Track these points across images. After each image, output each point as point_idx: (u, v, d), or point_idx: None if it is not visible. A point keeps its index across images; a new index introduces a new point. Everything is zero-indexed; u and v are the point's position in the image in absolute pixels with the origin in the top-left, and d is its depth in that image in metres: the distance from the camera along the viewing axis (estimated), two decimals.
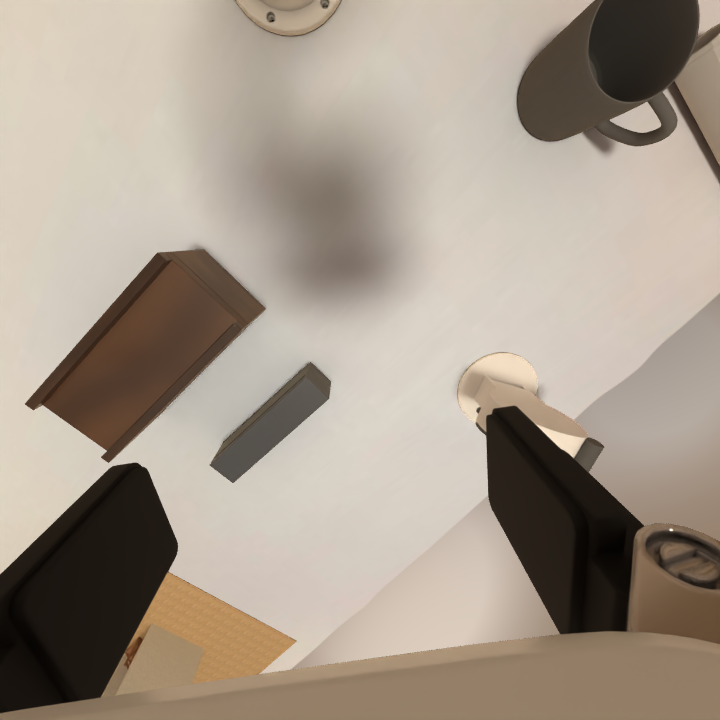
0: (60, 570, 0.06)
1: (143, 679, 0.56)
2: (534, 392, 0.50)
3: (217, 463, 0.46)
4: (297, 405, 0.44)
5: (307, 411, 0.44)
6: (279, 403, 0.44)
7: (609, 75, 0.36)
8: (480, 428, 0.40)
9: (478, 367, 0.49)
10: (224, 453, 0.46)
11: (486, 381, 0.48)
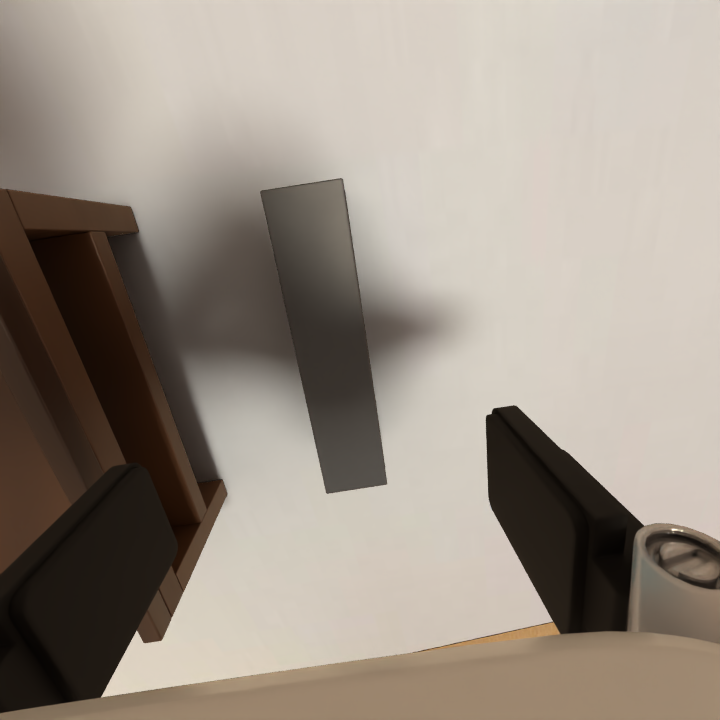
0: (59, 571, 0.06)
1: None
2: None
3: (332, 480, 0.22)
4: (313, 260, 0.18)
5: (340, 249, 0.18)
6: (285, 292, 0.18)
7: None
8: None
9: None
10: (321, 457, 0.22)
11: None
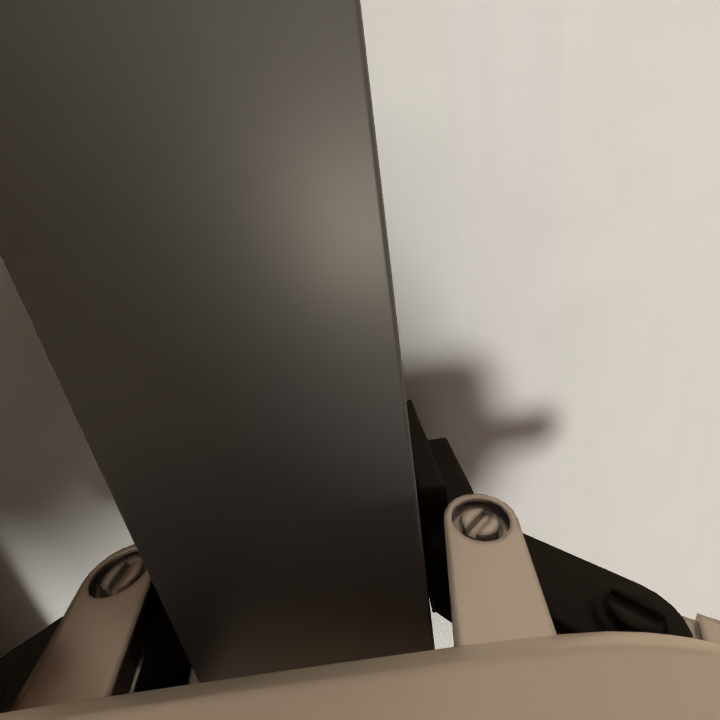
0: None
1: None
2: None
3: None
4: (210, 319, 0.04)
5: (334, 272, 0.04)
6: (104, 449, 0.04)
7: None
8: None
9: None
10: None
11: None
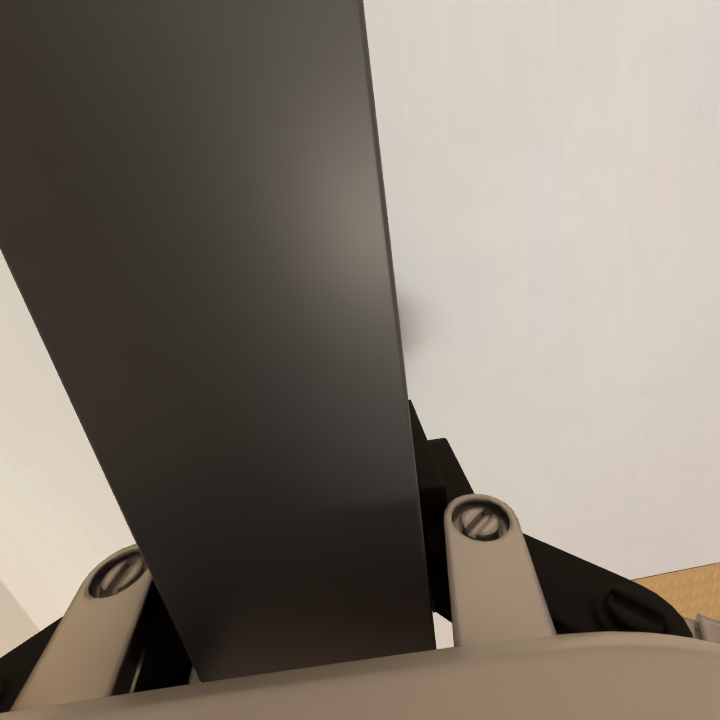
0: None
1: None
2: None
3: None
4: (213, 321, 0.04)
5: (336, 274, 0.04)
6: (107, 451, 0.04)
7: None
8: None
9: None
10: None
11: None
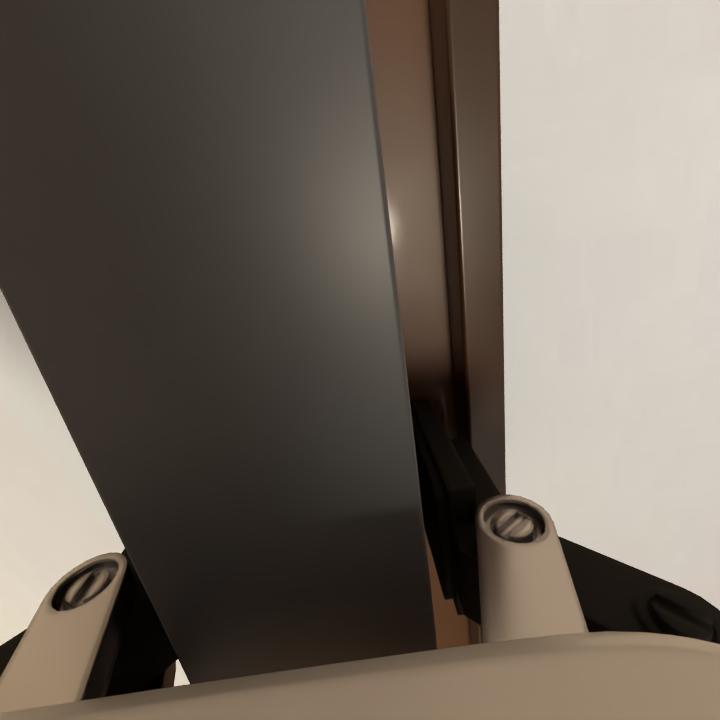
0: None
1: None
2: None
3: None
4: (207, 329, 0.04)
5: (336, 280, 0.04)
6: (98, 463, 0.04)
7: None
8: None
9: None
10: None
11: None
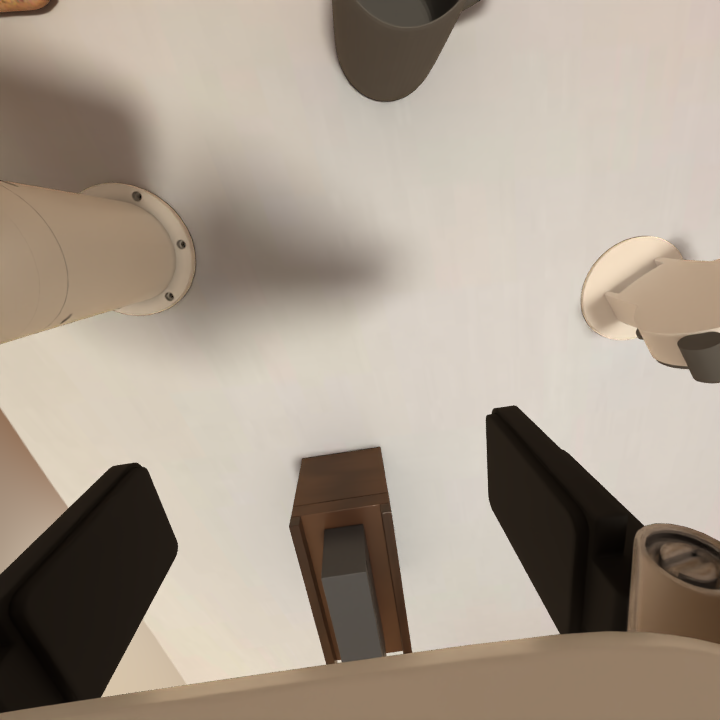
0: (59, 571, 0.06)
1: None
2: (673, 250, 0.38)
3: None
4: (349, 603, 0.32)
5: (364, 599, 0.32)
6: (332, 617, 0.32)
7: None
8: (669, 365, 0.31)
9: (590, 296, 0.39)
10: None
11: (614, 300, 0.37)
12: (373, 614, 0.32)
